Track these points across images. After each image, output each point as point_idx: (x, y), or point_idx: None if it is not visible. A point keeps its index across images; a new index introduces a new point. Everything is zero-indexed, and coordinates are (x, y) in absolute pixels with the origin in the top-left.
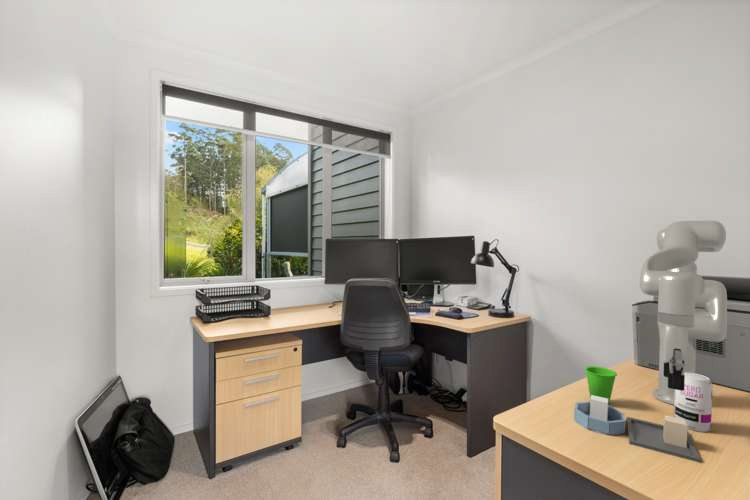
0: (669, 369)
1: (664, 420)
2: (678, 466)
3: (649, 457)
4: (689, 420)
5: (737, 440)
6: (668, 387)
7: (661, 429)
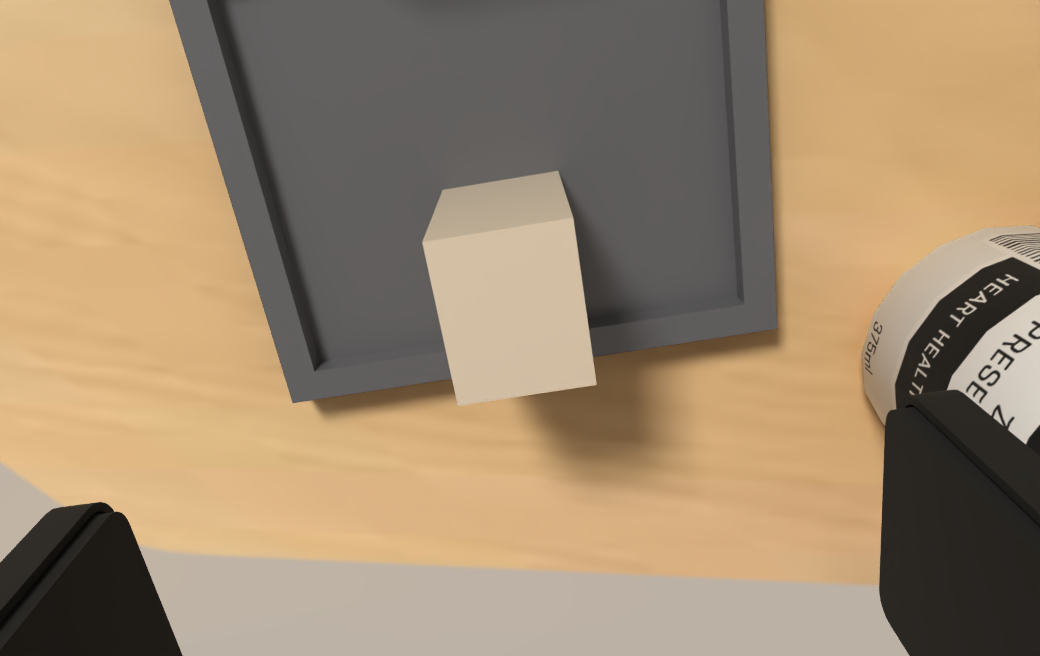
0: (992, 614)
1: (511, 218)
2: (139, 281)
3: (93, 107)
4: (900, 361)
5: None
6: (59, 509)
7: (712, 150)
